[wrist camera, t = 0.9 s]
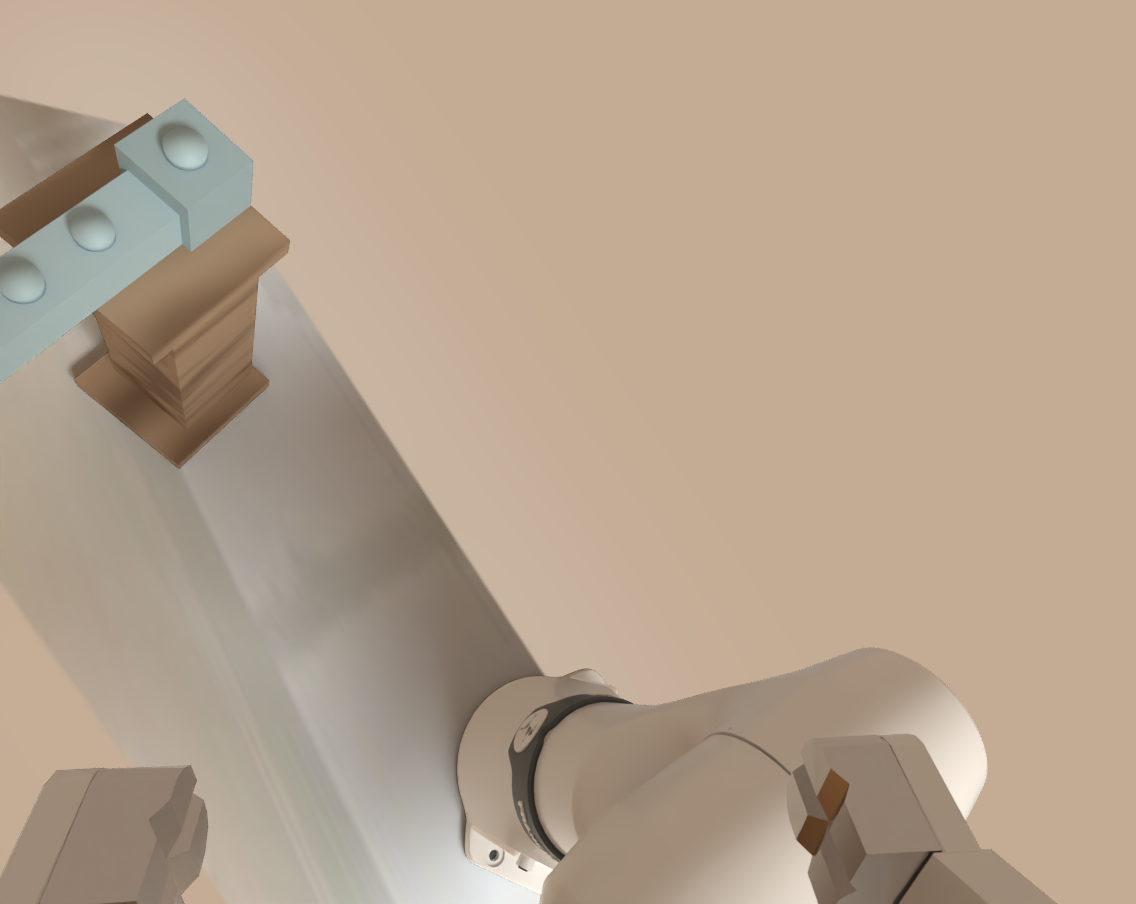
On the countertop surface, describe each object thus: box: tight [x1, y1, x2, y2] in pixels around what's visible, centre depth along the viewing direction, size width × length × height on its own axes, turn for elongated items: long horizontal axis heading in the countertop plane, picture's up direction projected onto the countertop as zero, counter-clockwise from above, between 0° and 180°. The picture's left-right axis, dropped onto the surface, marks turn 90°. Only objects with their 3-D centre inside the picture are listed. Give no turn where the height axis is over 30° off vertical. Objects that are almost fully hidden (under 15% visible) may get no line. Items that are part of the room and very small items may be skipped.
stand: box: [0, 113, 290, 468], centre depth 53 cm, size 10×10×26 cm
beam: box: [0, 99, 253, 383], centre depth 37 cm, size 4×18×5 cm, turn 142°
